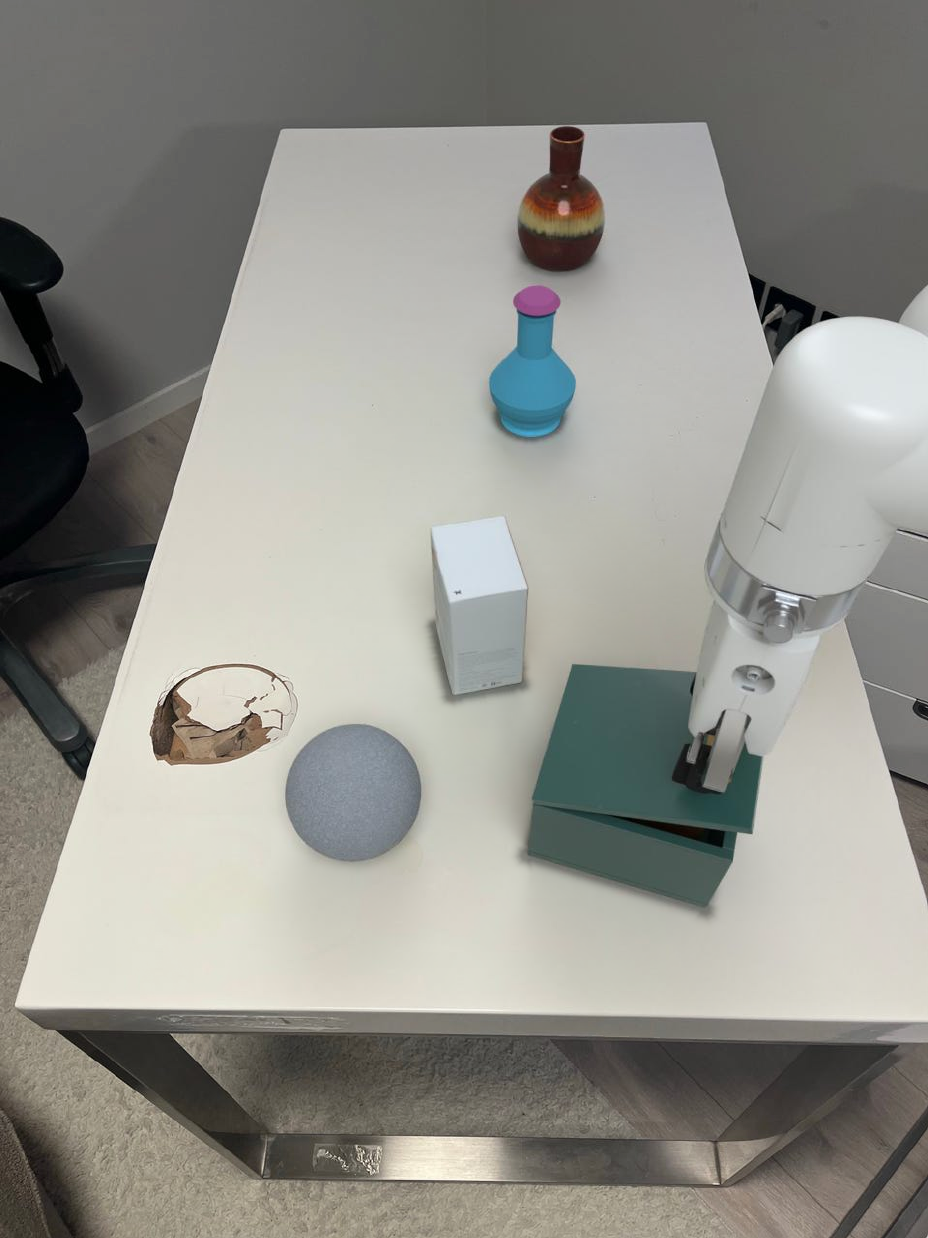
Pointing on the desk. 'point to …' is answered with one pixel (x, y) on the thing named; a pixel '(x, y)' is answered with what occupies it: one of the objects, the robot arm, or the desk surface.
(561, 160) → the vase
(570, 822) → the green hollow open box
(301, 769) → the decorative stone
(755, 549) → the robot arm
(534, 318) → the perfume bottle
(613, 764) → the lid
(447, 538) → the small box
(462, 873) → the desk surface
